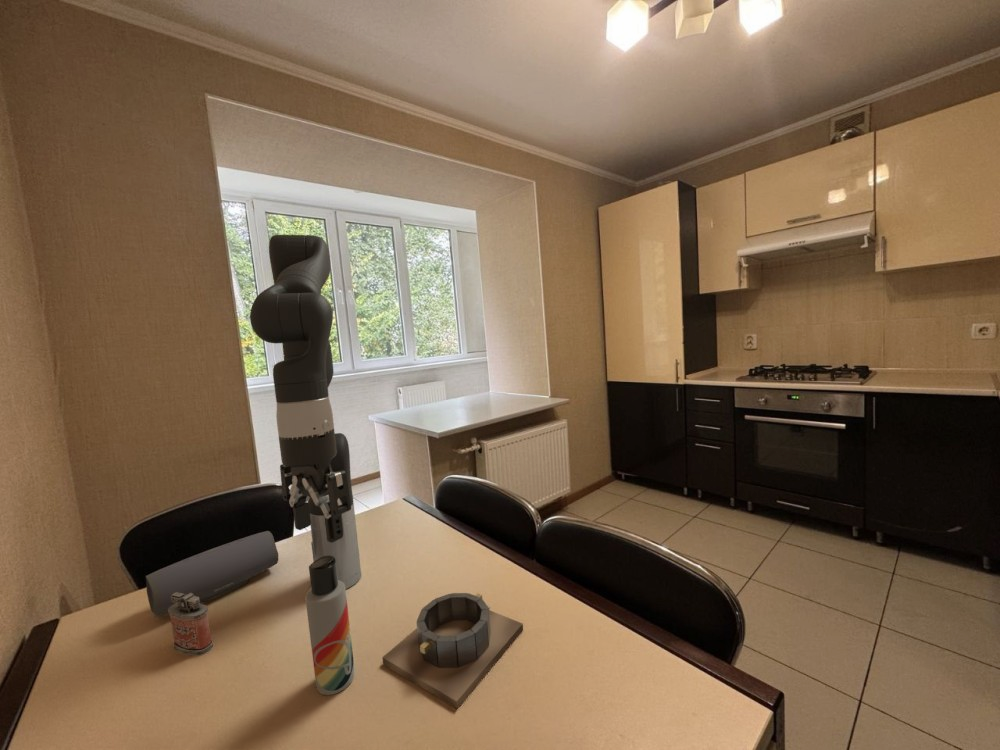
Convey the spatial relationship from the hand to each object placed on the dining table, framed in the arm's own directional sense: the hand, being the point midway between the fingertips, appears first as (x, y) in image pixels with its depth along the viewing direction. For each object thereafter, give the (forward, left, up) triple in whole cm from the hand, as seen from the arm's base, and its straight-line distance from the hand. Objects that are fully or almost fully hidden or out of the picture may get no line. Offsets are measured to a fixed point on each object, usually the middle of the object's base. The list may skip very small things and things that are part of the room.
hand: (319, 533), depth 63 cm
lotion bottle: (0, 0, -24) cm, 24 cm away
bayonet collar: (+12, +15, -23) cm, 30 cm away
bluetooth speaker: (-45, +1, -25) cm, 51 cm away
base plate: (+12, +15, -24) cm, 31 cm away
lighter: (-30, -9, -24) cm, 40 cm away
